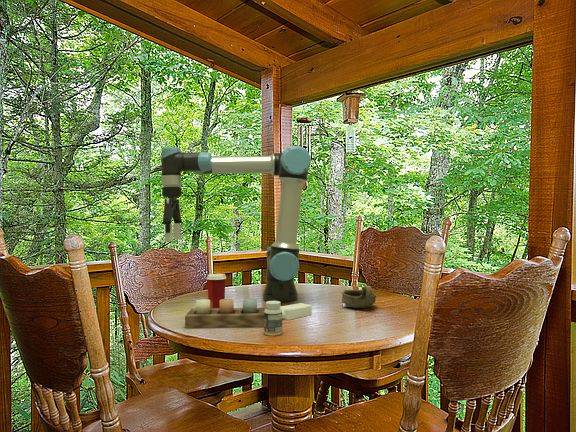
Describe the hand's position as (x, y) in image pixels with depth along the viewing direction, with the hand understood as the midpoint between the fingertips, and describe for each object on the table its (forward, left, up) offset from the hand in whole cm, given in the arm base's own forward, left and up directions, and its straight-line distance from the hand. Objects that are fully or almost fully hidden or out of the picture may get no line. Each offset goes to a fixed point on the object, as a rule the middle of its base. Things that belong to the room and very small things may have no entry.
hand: (173, 240), depth 181 cm
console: (-24, +25, -27) cm, 44 cm away
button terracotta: (-24, +25, -23) cm, 42 cm away
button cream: (-16, +25, -24) cm, 38 cm away
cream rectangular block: (-47, +16, -28) cm, 57 cm away
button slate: (-32, +25, -24) cm, 47 cm away
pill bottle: (-40, +39, -27) cm, 62 cm away
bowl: (-74, +4, -27) cm, 79 cm away
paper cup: (-18, +5, -27) cm, 33 cm away
